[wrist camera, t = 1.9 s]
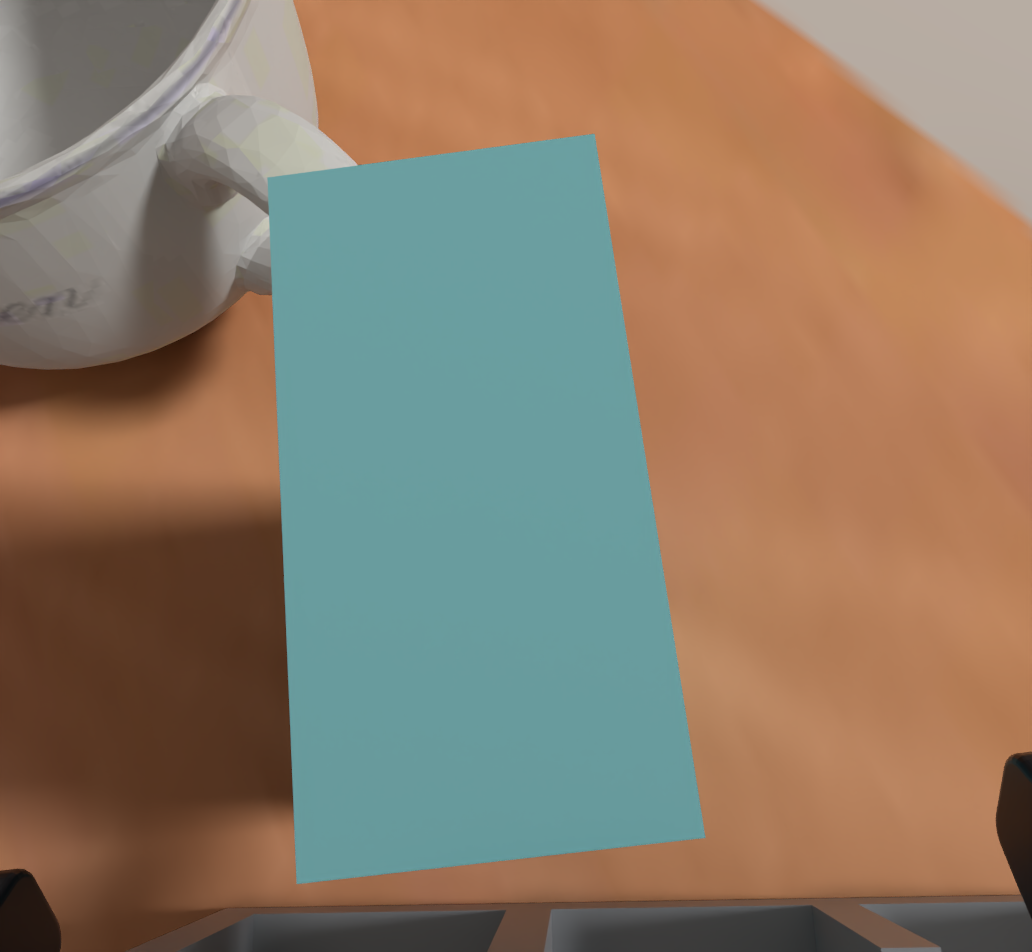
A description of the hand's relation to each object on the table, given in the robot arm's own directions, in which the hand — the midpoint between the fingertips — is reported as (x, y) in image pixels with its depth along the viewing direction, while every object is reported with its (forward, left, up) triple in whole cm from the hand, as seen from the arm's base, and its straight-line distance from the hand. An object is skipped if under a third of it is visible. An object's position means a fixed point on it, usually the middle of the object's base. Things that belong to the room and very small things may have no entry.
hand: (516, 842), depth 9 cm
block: (+3, -1, -10) cm, 11 cm away
